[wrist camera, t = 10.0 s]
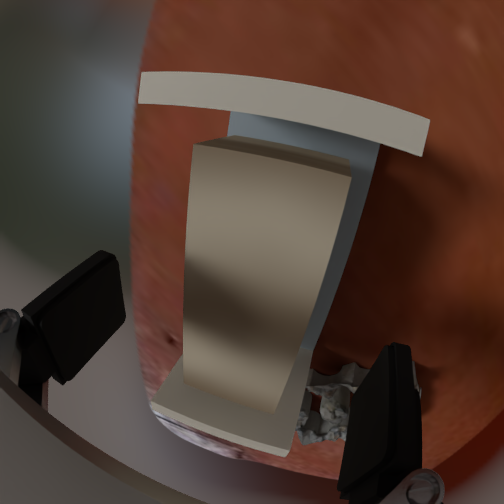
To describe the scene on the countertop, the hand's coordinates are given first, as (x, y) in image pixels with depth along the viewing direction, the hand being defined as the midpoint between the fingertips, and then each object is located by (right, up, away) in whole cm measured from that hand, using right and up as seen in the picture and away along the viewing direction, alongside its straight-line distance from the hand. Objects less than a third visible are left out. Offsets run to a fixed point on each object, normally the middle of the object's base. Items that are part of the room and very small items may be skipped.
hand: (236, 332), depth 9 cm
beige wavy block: (+1, +2, +5) cm, 6 cm away
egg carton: (+9, -9, +13) cm, 18 cm away
